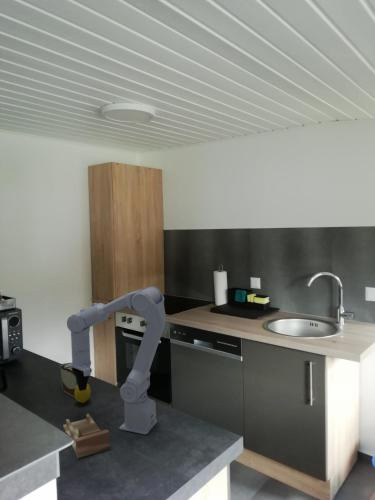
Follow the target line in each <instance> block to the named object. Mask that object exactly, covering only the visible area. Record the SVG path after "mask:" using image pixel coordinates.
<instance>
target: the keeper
mask: <svg viewBox="0 0 375 500" xmlns="http://www.w3.org/2000/svg"><path fill="white" fill-rule="evenodd" d="M100 431H101V429H100V428H99V426H98V424H97V422H95V423H92V424H88V425H85V426H81V427H78V433H79V438H80V437H83V436H86V435H90V434H93V433H97V432H100Z"/></svg>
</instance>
